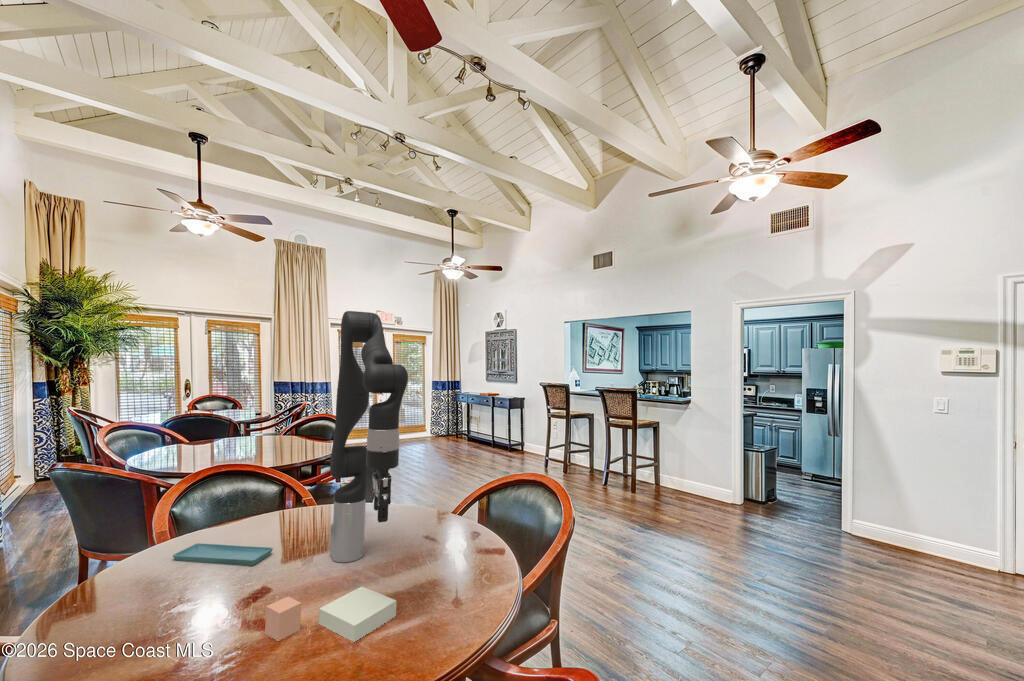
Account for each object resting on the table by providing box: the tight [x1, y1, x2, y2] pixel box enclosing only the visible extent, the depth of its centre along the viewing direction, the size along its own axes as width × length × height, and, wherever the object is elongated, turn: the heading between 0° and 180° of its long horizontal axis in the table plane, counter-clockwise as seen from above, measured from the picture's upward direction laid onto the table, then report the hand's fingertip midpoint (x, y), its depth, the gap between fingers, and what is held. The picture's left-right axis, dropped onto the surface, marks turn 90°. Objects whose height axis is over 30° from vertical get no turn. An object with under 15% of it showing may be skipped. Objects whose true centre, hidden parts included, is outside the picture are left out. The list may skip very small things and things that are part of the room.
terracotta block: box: [264, 596, 302, 642], centre depth 97 cm, size 5×5×6 cm
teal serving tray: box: [172, 543, 274, 567], centre depth 133 cm, size 26×9×2 cm, turn 83°
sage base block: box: [318, 586, 397, 643], centre depth 102 cm, size 12×12×4 cm
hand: (380, 515), depth 106 cm, fingers open, 8 cm apart
